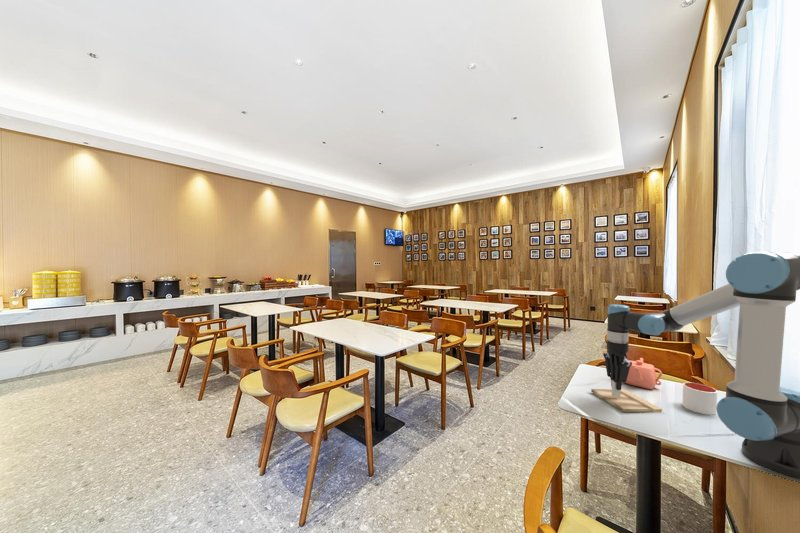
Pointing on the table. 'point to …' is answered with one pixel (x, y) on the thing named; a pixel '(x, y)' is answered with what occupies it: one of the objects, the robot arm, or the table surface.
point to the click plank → (621, 401)
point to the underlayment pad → (654, 408)
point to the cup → (699, 398)
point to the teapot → (643, 375)
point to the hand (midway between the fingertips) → (615, 396)
